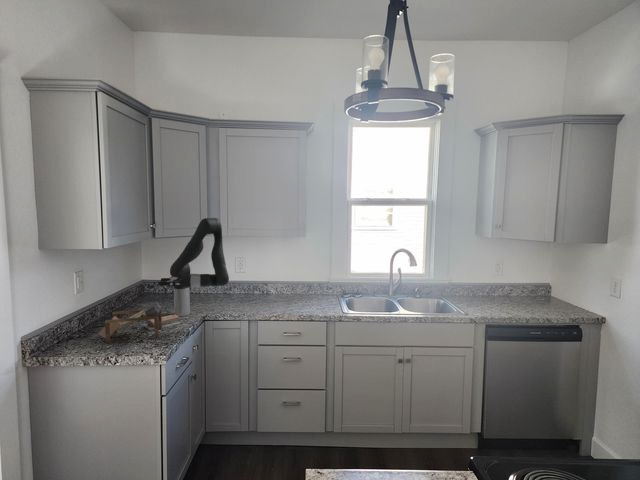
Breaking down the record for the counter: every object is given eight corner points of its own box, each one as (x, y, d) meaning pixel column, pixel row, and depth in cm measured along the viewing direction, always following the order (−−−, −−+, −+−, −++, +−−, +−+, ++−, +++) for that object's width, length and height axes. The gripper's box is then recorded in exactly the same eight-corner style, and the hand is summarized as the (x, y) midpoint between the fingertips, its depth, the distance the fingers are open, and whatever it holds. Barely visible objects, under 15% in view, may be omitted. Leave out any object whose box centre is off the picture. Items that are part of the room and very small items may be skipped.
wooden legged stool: (114, 332, 198) (113, 311, 197) (161, 328, 205) (161, 308, 204) (106, 343, 181) (104, 320, 180) (158, 338, 189) (157, 316, 188)
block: (122, 321, 193) (109, 336, 192) (114, 315, 192) (101, 331, 190) (120, 324, 188) (107, 339, 187) (112, 318, 187) (98, 334, 185)
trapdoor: (127, 325, 198) (123, 318, 197) (161, 307, 202) (157, 301, 201) (122, 333, 185) (117, 326, 184) (158, 314, 189) (153, 307, 188)
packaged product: (174, 312, 220) (181, 316, 213) (174, 320, 221) (182, 324, 214) (143, 318, 208) (149, 322, 201) (143, 327, 208) (150, 331, 201)
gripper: (192, 271, 208) (161, 272, 203) (190, 276, 194) (157, 277, 190) (192, 284, 209) (161, 285, 204) (191, 290, 195) (158, 291, 190)
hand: (159, 281), depth 197 cm, fingers open, 8 cm apart
